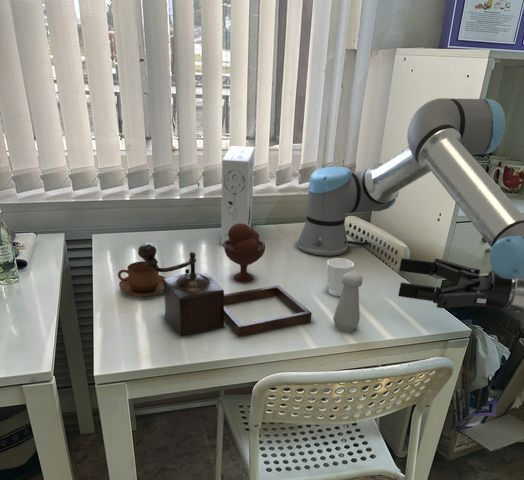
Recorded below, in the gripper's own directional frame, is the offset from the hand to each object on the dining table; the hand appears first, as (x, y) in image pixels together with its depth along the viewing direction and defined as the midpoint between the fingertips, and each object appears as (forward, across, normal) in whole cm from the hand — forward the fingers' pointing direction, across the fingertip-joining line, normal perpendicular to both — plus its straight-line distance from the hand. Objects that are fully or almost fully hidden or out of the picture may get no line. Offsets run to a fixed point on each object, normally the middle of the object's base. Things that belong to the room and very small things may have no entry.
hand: (399, 276), depth 107 cm
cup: (+14, +20, -14) cm, 28 cm away
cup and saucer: (+60, +4, -14) cm, 61 cm away
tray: (+29, 0, -14) cm, 33 cm away
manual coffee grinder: (+44, -10, -14) cm, 48 cm away
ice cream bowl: (+38, +19, -14) cm, 45 cm away
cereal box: (+50, +52, -14) cm, 74 cm away
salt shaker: (+10, 0, -14) cm, 17 cm away
